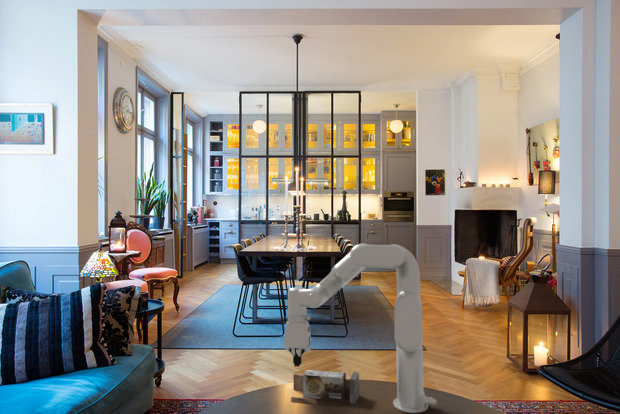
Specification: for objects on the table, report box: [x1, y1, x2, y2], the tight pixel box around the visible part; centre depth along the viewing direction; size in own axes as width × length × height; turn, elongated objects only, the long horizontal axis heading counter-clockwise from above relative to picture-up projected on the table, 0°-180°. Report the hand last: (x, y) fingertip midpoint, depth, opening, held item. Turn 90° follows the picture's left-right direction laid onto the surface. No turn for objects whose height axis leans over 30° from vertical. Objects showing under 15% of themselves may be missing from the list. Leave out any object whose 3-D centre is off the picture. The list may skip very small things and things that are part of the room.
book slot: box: [290, 371, 360, 405], centre depth 163 cm, size 27×13×9 cm, turn 73°
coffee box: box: [302, 369, 347, 402], centre depth 164 cm, size 9×6×16 cm
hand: (297, 365), depth 166 cm, fingers closed
